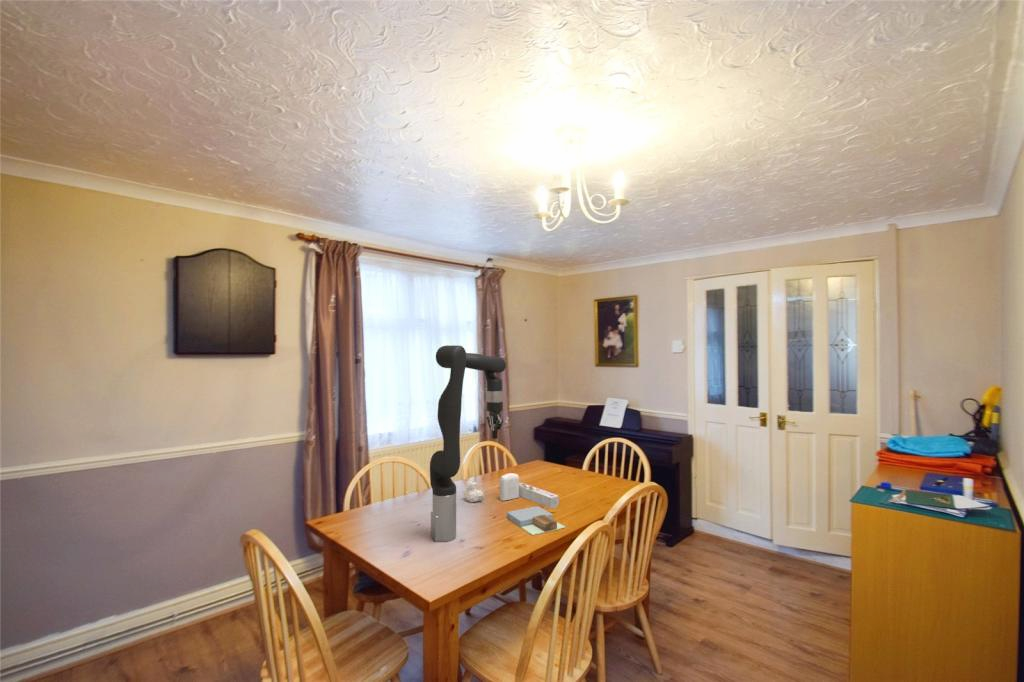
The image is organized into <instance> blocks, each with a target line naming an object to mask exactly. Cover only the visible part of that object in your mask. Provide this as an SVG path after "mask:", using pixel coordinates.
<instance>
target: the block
mask: <svg viewBox="0 0 1024 682" xmlns="http://www.w3.org/2000/svg"><path fill="white" fill-rule="evenodd" d="M557 522H558V521H556V520H555V519H552V518H550V517H548V516H546V515H540V516H536V517H533V525H534V526H536V527H538V528H539V529H541V530H543V531H544V532H546V531H550V530H554V529H557ZM554 531H555V530H554ZM550 532H551V531H550ZM546 533H547V532H546Z"/></svg>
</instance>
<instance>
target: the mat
mask: <svg viewBox="0 0 1024 682" xmlns="http://www.w3.org/2000/svg"><path fill="white" fill-rule="evenodd" d="M520 528H521V529H523V531H525V532H527V533H528V534H529V535H531V536H536V535H541V534H544V533H549V532H553V531H558V530H563V529H566V526H565V525H563V524H562V523H560V522H558V521H557V529H554V530H550V531H546V532H544V531H543V530H541V529H539V528H538V527H536V526H534V525H533V524H532V525H528V526H523V527H520ZM562 528H563V529H562Z"/></svg>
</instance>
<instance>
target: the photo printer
mask: <svg viewBox="0 0 1024 682" xmlns="http://www.w3.org/2000/svg"><path fill="white" fill-rule="evenodd" d="M519 483H520V477H519V475H518V474H517V473H513V472H512V473H511V472H510V473H505V474H504V475H501V476H500V477H499V501H502V502H504V501H509V500H515V499H518V498H520V496H519Z"/></svg>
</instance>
